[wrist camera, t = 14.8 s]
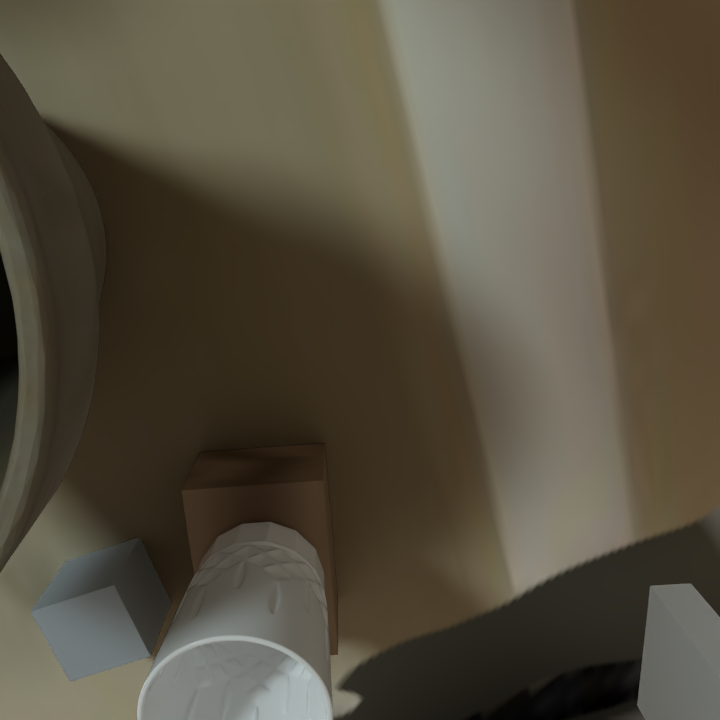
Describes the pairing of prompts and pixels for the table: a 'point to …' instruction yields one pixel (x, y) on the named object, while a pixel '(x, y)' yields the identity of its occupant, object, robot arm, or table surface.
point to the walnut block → (264, 503)
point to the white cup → (247, 635)
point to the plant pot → (42, 309)
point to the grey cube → (103, 610)
